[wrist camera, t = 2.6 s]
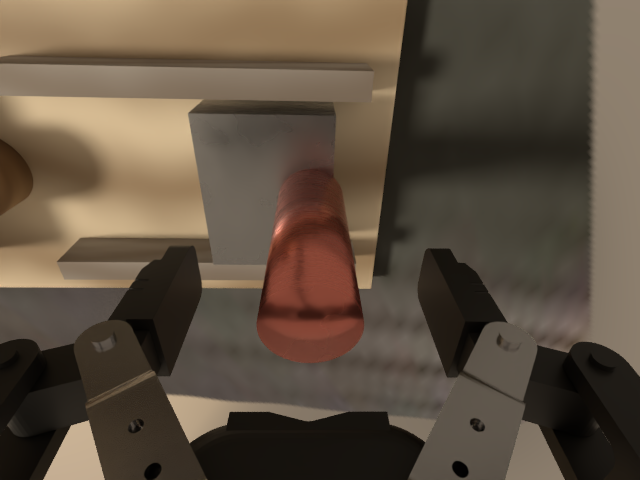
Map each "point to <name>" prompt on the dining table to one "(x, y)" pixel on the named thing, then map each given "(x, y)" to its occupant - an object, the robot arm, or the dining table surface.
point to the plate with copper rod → (281, 218)
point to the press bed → (175, 122)
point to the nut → (13, 178)
